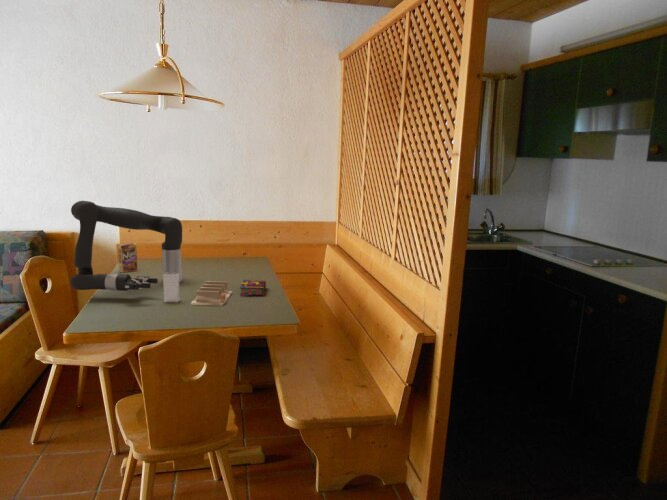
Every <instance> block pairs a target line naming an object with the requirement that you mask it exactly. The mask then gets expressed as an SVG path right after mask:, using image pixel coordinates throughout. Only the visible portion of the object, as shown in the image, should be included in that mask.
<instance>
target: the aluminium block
mask: <svg viewBox="0 0 667 500" xmlns="http://www.w3.org/2000/svg"><path fill="white" fill-rule="evenodd" d="M162 282H163V301H164V303H179V302H180V282H179V273H176V272H165V273H164V274H163V273H162Z"/></svg>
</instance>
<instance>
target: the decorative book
mask: <svg viewBox="0 0 667 500" xmlns="http://www.w3.org/2000/svg"><path fill="white" fill-rule="evenodd" d="M240 284H241V285H240V286H239V290H240V293H239V296H240V297H241V298H242V297H248V296H252V297H253V296H255V297H256V296H257V297H261V296H262V297H264V295H265V294H266V293H265V292H266V290H267V289H266V288H267V285H266V284H267V281H266V279H243V280H242V282H241V283H240Z"/></svg>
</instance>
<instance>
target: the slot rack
mask: <svg viewBox="0 0 667 500" xmlns="http://www.w3.org/2000/svg"><path fill="white" fill-rule="evenodd" d="M228 290H229V289H228V281H214V280H212V281H211V280H206V281H205V283H203V284H202V286H201V287H199V290H195V296H196V297H195V298H194V299H192V301H191V302H190V305H192V306H215V307H216V306H217V307H218V306H219V307H223V306H224V305H225V303H226V302H227V301H228V299H230V298H231V296H232V294H233V291H231V290H229V291H228Z"/></svg>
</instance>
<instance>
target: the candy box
mask: <svg viewBox="0 0 667 500" xmlns="http://www.w3.org/2000/svg"><path fill="white" fill-rule="evenodd" d="M137 246H138V245H137V243H135V242H132V243H131V242H129V243H121V244H118V245H117V248H118V249H117V250H118V251H117V252H118V272H120V273H122V272H123V273H128V272H134V271H135V272H137V271H138V247H137Z"/></svg>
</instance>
